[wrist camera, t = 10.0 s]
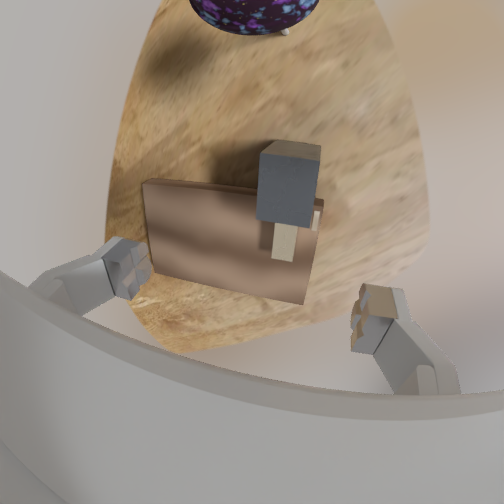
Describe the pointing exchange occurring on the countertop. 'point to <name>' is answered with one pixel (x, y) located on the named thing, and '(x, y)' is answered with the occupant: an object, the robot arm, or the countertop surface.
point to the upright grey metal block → (287, 191)
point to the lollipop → (253, 14)
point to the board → (224, 240)
